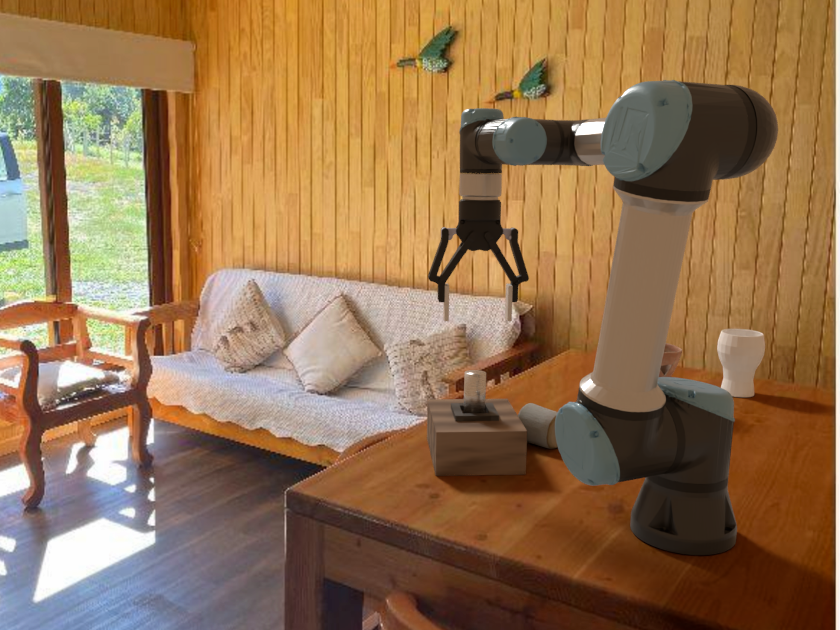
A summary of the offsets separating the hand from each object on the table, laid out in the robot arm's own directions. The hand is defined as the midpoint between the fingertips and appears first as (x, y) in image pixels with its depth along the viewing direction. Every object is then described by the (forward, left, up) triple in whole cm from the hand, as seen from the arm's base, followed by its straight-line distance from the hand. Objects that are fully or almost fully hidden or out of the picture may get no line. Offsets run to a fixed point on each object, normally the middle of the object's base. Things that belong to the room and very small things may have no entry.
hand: (477, 319), depth 149 cm
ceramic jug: (+30, -44, -26) cm, 60 cm away
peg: (0, 0, -18) cm, 18 cm away
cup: (+40, -69, -26) cm, 84 cm away
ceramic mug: (+6, -15, -26) cm, 31 cm away
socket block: (0, 0, -26) cm, 26 cm away
